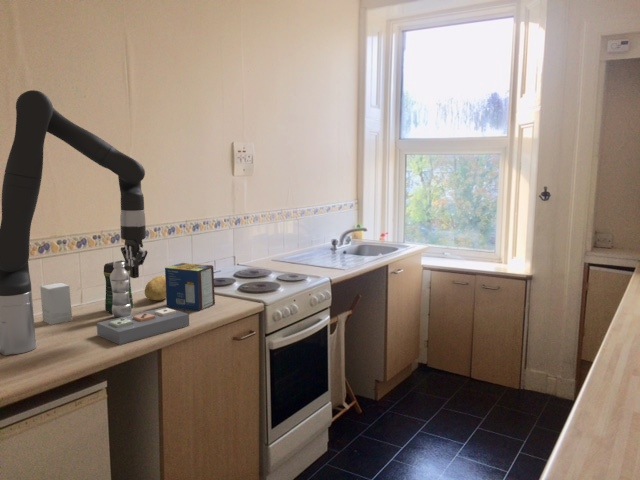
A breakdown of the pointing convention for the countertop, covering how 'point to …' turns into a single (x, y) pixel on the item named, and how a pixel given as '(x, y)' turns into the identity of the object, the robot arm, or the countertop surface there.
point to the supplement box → (56, 303)
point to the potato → (156, 288)
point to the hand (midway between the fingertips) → (134, 277)
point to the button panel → (142, 326)
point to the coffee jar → (109, 294)
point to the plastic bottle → (120, 290)
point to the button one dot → (165, 312)
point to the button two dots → (121, 323)
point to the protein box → (190, 286)
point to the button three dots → (143, 317)
